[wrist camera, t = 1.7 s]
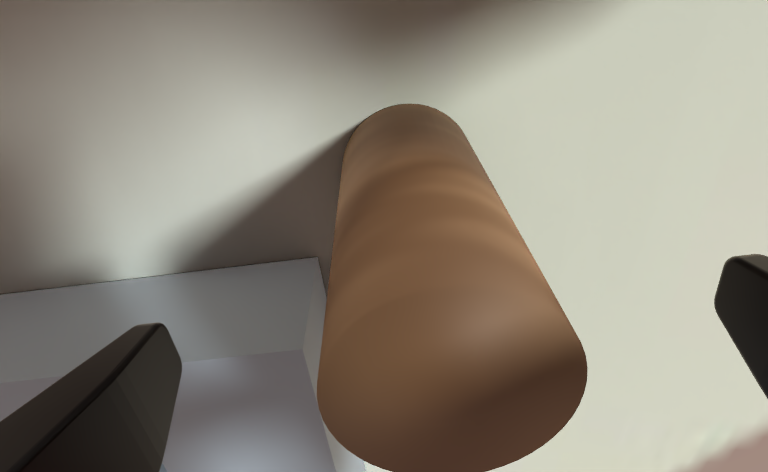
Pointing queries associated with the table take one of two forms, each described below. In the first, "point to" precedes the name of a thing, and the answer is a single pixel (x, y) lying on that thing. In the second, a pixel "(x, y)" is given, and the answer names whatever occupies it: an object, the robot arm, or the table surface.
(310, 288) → the socket block
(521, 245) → the peg
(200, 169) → the table surface
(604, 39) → the table surface
